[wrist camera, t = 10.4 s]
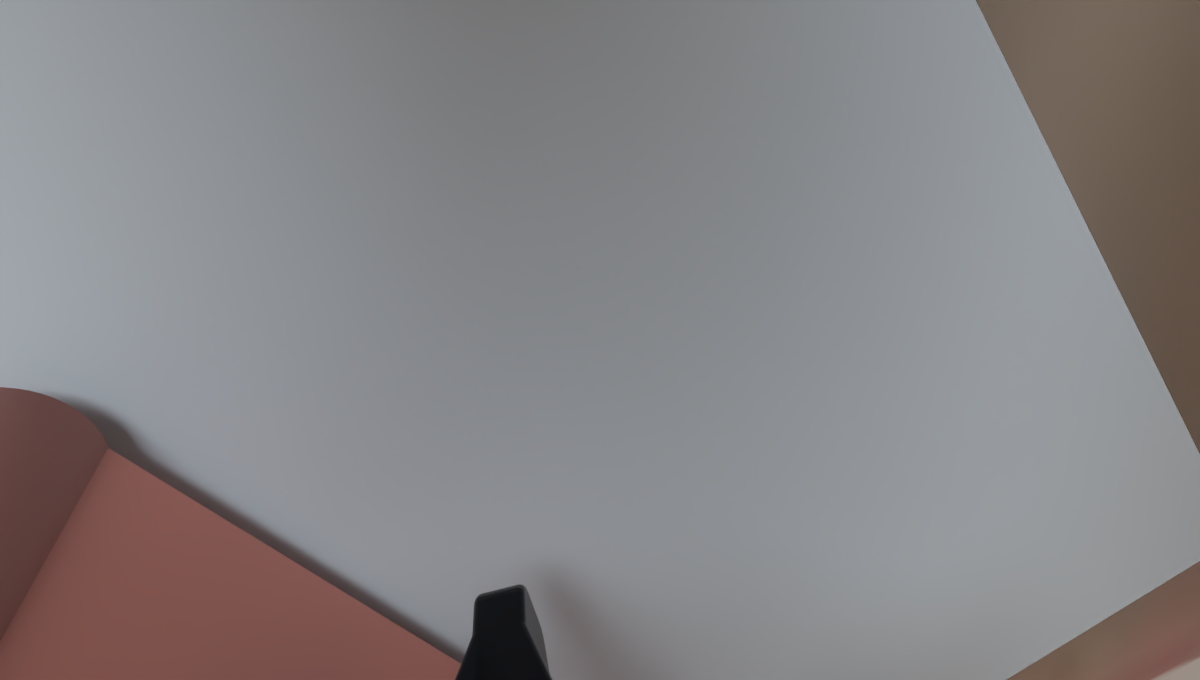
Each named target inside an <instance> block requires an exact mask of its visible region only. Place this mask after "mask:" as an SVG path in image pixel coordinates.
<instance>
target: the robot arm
mask: <svg viewBox="0 0 1200 680" xmlns="http://www.w3.org/2000/svg"><path fill="white" fill-rule="evenodd" d="M455 680H552V678H551V676H550V674H549V668H548V661H547V655H546V649H545V643H544V637H543V633H542V629H541V626H540V623H539V620H538V617H537V615H536V612H535V609H534V607H533V604H532V601H531V599H530V596H529V593H528V591H527V589H526V587H525V586H524V585H521V584H520V585H519V584H518V585H514V586H510V587H506V588H502V589H498V590H494V591H490V592H486V593H482V594H480V595H478V596H477V597H476V599H475V602H474V613H473V632H472V638H471V640H470V643H469V645H468V648H467V650H466V653H465V655H464V658H463V660H462V663H461V665H460V668H459V670H458V673H457V675H456V678H455Z"/></svg>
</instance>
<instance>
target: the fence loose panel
mask: <svg viewBox="0 0 1200 680" xmlns="http://www.w3.org/2000/svg"><path fill="white" fill-rule="evenodd" d="M460 665H461V663H459V662H457V661H456V660H454V659H453V658H451V657H449V656H448V655H446V654H444V653H443V652H441V651H439V650H438V649H436V648H435V647H433V646H431V645H430V644H428V643H426V642H425V641H423V640H422V639H420V638H418V637H417V636H415V635H413V634H412V633H410V632H408V631H407V630H405V629H404V628H402V627H400V626H399V625H397V624H395V623H394V622H392V621H390V620H389V619H387V618H386V617H384V616H382V615H381V614H379V613H377V612H376V611H374V610H372V609H371V608H369V607H368V606H366V605H364V604H363V603H361V602H359V601H358V600H356V599H354V598H353V597H351V596H350V595H348V594H346V593H345V592H343V591H341V590H340V589H338V588H337V587H335V586H333V585H332V584H330V583H328V582H327V581H325V580H323V579H322V578H320V577H319V576H317V575H315V574H314V573H312V572H310V571H309V570H307V569H305V568H304V567H302V566H301V565H299V564H297V563H296V562H294V561H292V560H291V559H289V558H287V557H286V556H284V555H283V554H281V553H279V552H278V551H276V550H274V549H273V548H271V547H270V546H268V545H266V544H265V543H263V542H261V541H260V540H258V539H256V538H255V537H253V536H252V535H250V534H248V533H247V532H245V531H243V530H242V529H240V528H238V527H237V526H235V525H234V524H232V523H230V522H229V521H227V520H225V519H224V518H222V517H220V516H219V515H217V514H216V513H214V512H212V511H211V510H209V509H207V508H206V507H204V506H202V505H201V504H199V503H198V502H196V501H194V500H193V499H191V498H189V497H188V496H186V495H185V494H183V493H181V492H180V491H178V490H176V489H175V488H173V487H171V486H170V485H168V484H167V483H165V482H163V481H162V480H160V479H158V478H157V477H155V476H153V475H152V474H150V473H149V472H147V471H145V470H144V469H142V468H140V467H139V466H137V465H135V464H134V463H132V462H131V461H129V460H127V459H126V458H124V457H122V456H121V455H119V454H117V453H116V452H114V451H113V450H111V449H109V448H108V445H107V443H106V441H105V439H104V436H103V435H102V434H101V432H100V431H99V429H98V428H97V427H96V426H95V425H94V424H93V423H92V421H90V420H89V419H88V418H87V417H86V416H85V415H83V414H82V413H81V412H79V411H78V410H76V409H75V408H73V407H71V406H69V405H68V404H66V403H64V402H62V401H59V400H57V399H55V398H52V397H50V396H47V395H44V394H41V393H37V392H33V391H29V390H23V389H17V388H5V387H0V680H455V678H456V675H457V673H458V670H459V668H460Z"/></svg>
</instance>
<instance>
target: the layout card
mask: <svg viewBox="0 0 1200 680" xmlns="http://www.w3.org/2000/svg"><path fill="white" fill-rule="evenodd" d="M0 387H5V388H17V389H23V390H29V391H33V392H37V393H41V394H44V395H47V396H50V397H52V398H55V399H57V400H59V401H62V402H64V403H66V404H68V405H69V406H71V407H73V408H75V409H76V410H78V411H79V412H81V413H82V414H83V415H85V416H86V417H87V418H88V419H89V420H90V421H92V423H93V424H94V425H95V426H96V427H97V428H98V429H99V431H100V432H101V434H102V435H103V436H104V439H105V441H106V443H107V445H108V448H109V449H111V450H113V451H114V452H116V453H117V454H119V455H121V456H122V457H124V458H126V459H127V460H129V461H131V462H132V463H134V464H135V465H137V466H139V467H140V468H142V469H144V470H145V471H147V472H149V473H150V474H152V475H153V476H155V477H157V478H158V479H160V480H162V481H163V482H165V483H167V484H168V485H170V486H171V487H173V488H175V489H176V490H178V491H180V492H181V493H183V494H185V495H186V496H188V497H189V498H191V499H193V500H194V501H196V502H198V503H199V504H201V505H202V506H204V507H206V508H207V509H209V510H211V511H212V512H214V513H216V514H217V515H219V516H220V517H222V518H224V519H225V520H227V521H229V522H230V523H232V524H234V525H235V526H237V527H238V528H240V529H242V530H243V531H245V532H247V533H248V534H250V535H252V536H253V537H255V538H256V539H258V540H260V541H261V542H263V543H265V544H266V545H268V546H270V547H271V548H273V549H274V550H276V551H278V552H279V553H281V554H283V555H284V556H286V557H287V558H289V559H291V560H292V561H294V562H296V563H297V564H299V565H301V566H302V567H304V568H305V569H307V570H309V571H310V572H312V573H314V574H315V575H317V576H319V577H320V578H322V579H323V580H325V581H327V582H328V583H330V584H332V585H333V586H335V587H337V588H338V589H340V590H341V591H343V592H345V593H346V594H348V595H350V596H351V597H353V598H354V599H356V600H358V601H359V602H361V603H363V604H364V605H366V606H368V607H369V608H371V609H372V610H374V611H376V612H377V613H379V614H381V615H382V616H384V617H386V618H387V619H389V620H390V621H392V622H394V623H395V624H397V625H399V626H400V627H402V628H404V629H405V630H407V631H408V632H410V633H412V634H413V635H415V636H417V637H418V638H420V639H422V640H423V641H425V642H426V643H428V644H430V645H431V646H433V647H435V648H436V649H438V650H439V651H441V652H443V653H444V654H446V655H448V656H449V657H451V658H453V659H454V660H456V661H457V662H459V663H462V660H463V658H464V655H465V653H466V650H467V648H468V645H469V643H470V640H471V638H472V632H473V613H474V602H475V599H476V597H477V596H478V595H480V594H482V593H486V592H490V591H494V590H498V589H502V588H506V587H510V586H514V585H518V584H519V585H520V584H521V585H524V586H525V587H526V589H527V591H528V593H529V596H530V599H531V601H532V604H533V607H534V609H535V612H536V615H537V617H538V620H539V623H540V626H541V629H542V633H543V637H544V643H545V649H546V655H547V661H548V668H549V674H550V676H551V678H552V680H1007V679H1008V678H1010V677H1011V676H1013V675H1015V674H1016V673H1018V672H1020V671H1021V670H1023V669H1024V668H1026V667H1028V666H1029V665H1031V664H1033V663H1034V662H1036V661H1038V660H1039V659H1041V658H1042V657H1044V656H1046V655H1047V654H1049V653H1051V652H1052V651H1054V650H1055V649H1057V648H1059V647H1060V646H1062V645H1064V644H1065V643H1067V642H1069V641H1070V640H1072V639H1073V638H1075V637H1077V636H1078V635H1080V634H1082V633H1083V632H1085V631H1086V630H1088V629H1090V628H1091V627H1093V626H1095V625H1096V624H1098V623H1099V622H1101V621H1103V620H1104V619H1106V618H1108V617H1109V616H1111V615H1113V614H1114V613H1116V612H1117V611H1119V610H1121V609H1122V608H1124V607H1126V606H1127V605H1129V604H1130V603H1132V602H1134V601H1135V600H1137V599H1139V598H1140V597H1142V596H1143V595H1145V594H1147V593H1148V592H1150V591H1152V590H1153V589H1155V588H1157V587H1158V586H1160V585H1161V584H1163V583H1165V582H1166V581H1168V580H1170V579H1171V578H1173V577H1174V576H1176V575H1178V574H1179V573H1181V572H1183V571H1184V570H1186V569H1188V568H1189V567H1191V566H1192V565H1194V564H1196V563H1197V562H1199V561H1200V454H1199V452H1198V450H1197V448H1196V446H1195V444H1194V442H1193V440H1192V438H1191V436H1190V433H1189V431H1188V429H1187V427H1186V425H1185V423H1184V421H1183V419H1182V417H1181V415H1180V413H1179V411H1178V409H1177V407H1176V405H1175V403H1174V401H1173V399H1172V397H1171V395H1170V393H1169V391H1168V389H1167V387H1166V385H1165V383H1164V381H1163V379H1162V377H1161V375H1160V373H1159V371H1158V369H1157V367H1156V365H1155V363H1154V361H1153V359H1152V356H1151V354H1150V352H1149V350H1148V348H1147V346H1146V344H1145V342H1144V340H1143V338H1142V336H1141V334H1140V332H1139V330H1138V328H1137V326H1136V324H1135V322H1134V320H1133V318H1132V316H1131V314H1130V312H1129V310H1128V308H1127V306H1126V304H1125V302H1124V300H1123V298H1122V296H1121V294H1120V292H1119V290H1118V288H1117V286H1116V284H1115V282H1114V279H1113V277H1112V275H1111V273H1110V271H1109V269H1108V267H1107V265H1106V263H1105V261H1104V259H1103V257H1102V255H1101V253H1100V251H1099V249H1098V247H1097V245H1096V243H1095V241H1094V239H1093V237H1092V235H1091V233H1090V231H1089V229H1088V227H1087V225H1086V223H1085V221H1084V219H1083V217H1082V215H1081V213H1080V211H1079V209H1078V207H1077V205H1076V202H1075V200H1074V198H1073V196H1072V194H1071V192H1070V190H1069V188H1068V186H1067V184H1066V182H1065V180H1064V178H1063V176H1062V174H1061V172H1060V170H1059V168H1058V166H1057V164H1056V162H1055V160H1054V158H1053V156H1052V154H1051V152H1050V150H1049V148H1048V146H1047V144H1046V142H1045V140H1044V138H1043V136H1042V134H1041V132H1040V130H1039V127H1038V125H1037V123H1036V121H1035V119H1034V117H1033V115H1032V113H1031V111H1030V109H1029V107H1028V105H1027V103H1026V101H1025V99H1024V97H1023V95H1022V93H1021V91H1020V89H1019V87H1018V85H1017V83H1016V81H1015V79H1014V77H1013V75H1012V73H1011V71H1010V69H1009V67H1008V65H1007V63H1006V61H1005V59H1004V57H1003V55H1002V53H1001V50H1000V48H999V46H998V44H997V42H996V40H995V38H994V36H993V34H992V32H991V30H990V28H989V26H988V24H987V22H986V20H985V18H984V16H983V14H982V12H981V10H980V8H979V6H978V4H977V2H976V0H0Z"/></svg>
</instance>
